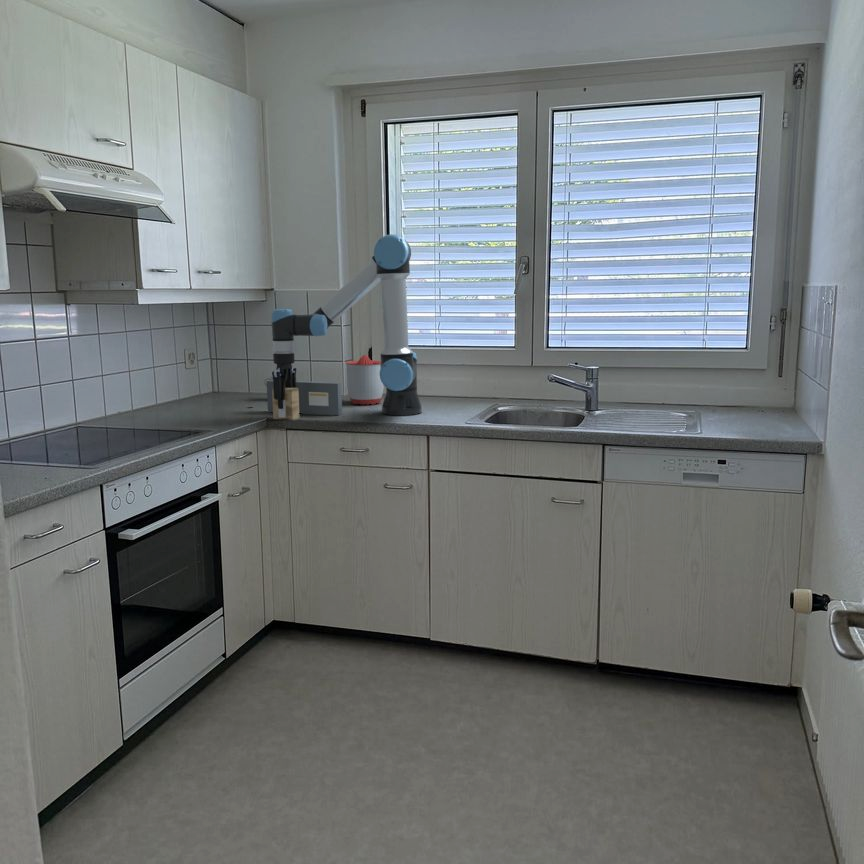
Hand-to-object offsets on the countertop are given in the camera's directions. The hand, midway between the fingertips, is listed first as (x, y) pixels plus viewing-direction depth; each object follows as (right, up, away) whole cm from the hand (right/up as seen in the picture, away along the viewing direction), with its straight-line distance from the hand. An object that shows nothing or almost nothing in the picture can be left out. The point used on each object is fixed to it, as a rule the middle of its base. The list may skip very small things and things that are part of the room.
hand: (286, 416), depth 285 cm
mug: (-11, +7, +46) cm, 48 cm away
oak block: (0, -1, 0) cm, 1 cm away
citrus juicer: (+27, +6, +35) cm, 44 cm away
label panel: (+5, +1, +11) cm, 12 cm away
